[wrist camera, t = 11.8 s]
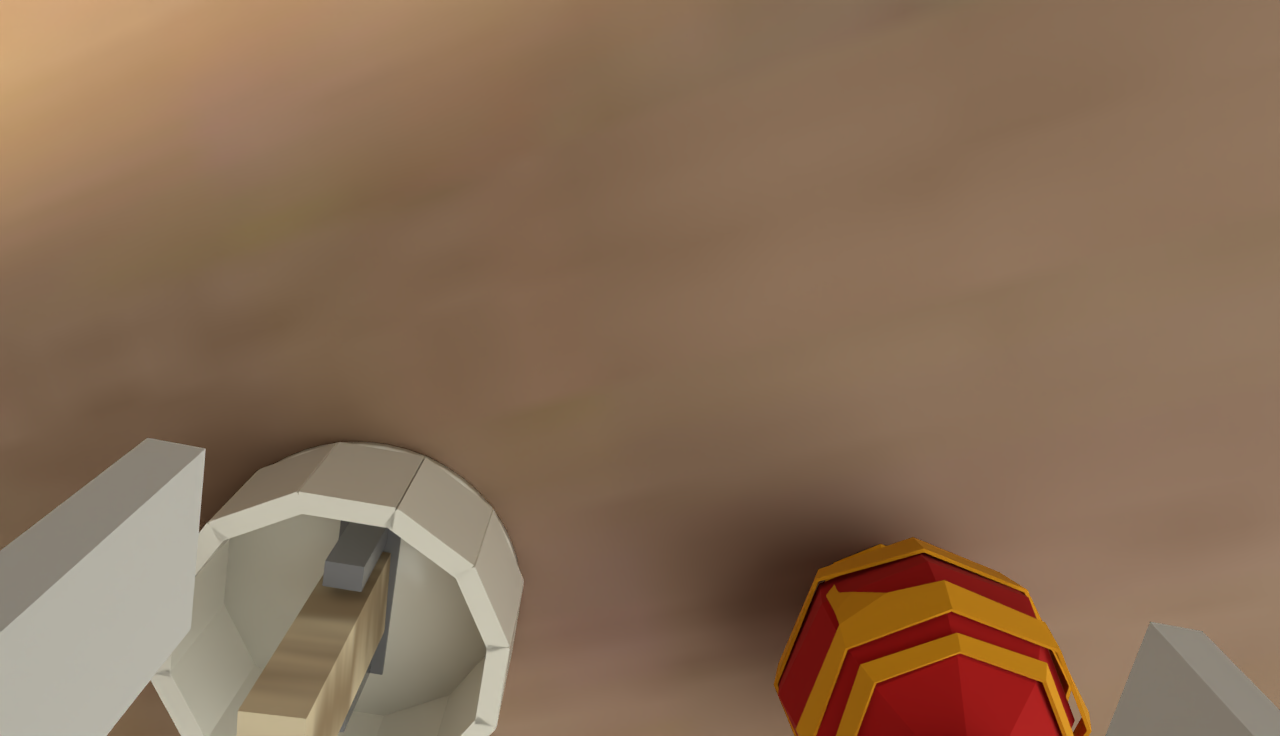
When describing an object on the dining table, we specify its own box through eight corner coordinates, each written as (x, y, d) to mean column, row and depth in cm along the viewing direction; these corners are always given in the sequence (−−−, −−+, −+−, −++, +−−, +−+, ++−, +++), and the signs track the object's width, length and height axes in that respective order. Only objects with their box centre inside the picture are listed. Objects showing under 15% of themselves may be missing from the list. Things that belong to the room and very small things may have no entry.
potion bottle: (754, 715, 44) (816, 1028, 29) (755, 490, 41) (824, 713, 26) (998, 708, 44) (1181, 1018, 29) (1016, 483, 41) (1228, 702, 26)
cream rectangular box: (340, 546, 40) (237, 710, 30) (391, 553, 40) (306, 719, 30) (335, 624, 41) (233, 811, 31) (384, 630, 41) (300, 818, 31)
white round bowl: (224, 416, 40) (160, 468, 34) (543, 470, 40) (530, 530, 35) (201, 695, 43) (140, 782, 38) (497, 740, 44) (478, 833, 38)
